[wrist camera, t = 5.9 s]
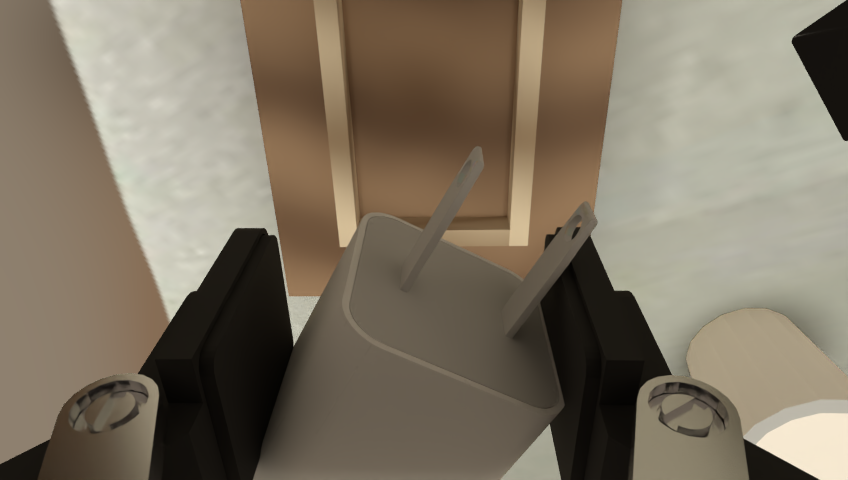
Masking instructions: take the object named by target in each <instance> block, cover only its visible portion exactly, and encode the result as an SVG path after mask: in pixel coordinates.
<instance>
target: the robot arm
mask: <svg viewBox="0 0 848 480" xmlns="http://www.w3.org/2000/svg"><path fill="white" fill-rule="evenodd" d="M561 229H562V227H557V229H556V231H555V234H547V235H546V238H545V246H544V251H545V250H546V248H547V247H548V245H549V244H550V243H551V241H552V240H553V239H554V237H555V236H556V235H557V234H558V232H559V231H560V230H561ZM579 230H580V227H576V228H575V230H574V232H573V235H572V239H573V238H574V237H575V236H576V235H577V233H578V232H579ZM572 239H571V240H572ZM540 304H541V308H542V313H543V317H544V321H545V325H546V329H547V333H548V337H549V341H550V346H551V350H552V354H553V358H554V362H555V366H556V370H557V375H558V379H559V383H560V387H561V391H562V395H563V399H564V404H565V405H564V408H563V409H562V410H561V412H560V413H559V414H558V415H557V416H556V417H555V418H554V419H553V421H552V422H551V423H550V427H551V432H552V437H553V442H554V446H555V451H556V456H557V461H558V466H559V471H560V476H561V480H820V479H818V478H816V477H814V476H812V475H810V474H808V473H807V472H805V471H803V470H801V469H799V468H797V467H796V466H794V465H792V464H790V463H788V462H786V461H784V460H783V459H781V458H779V457H777V456H775V455H773V454H772V453H770V452H768V451H766V450H764V449H762V448H760V447H759V446H757V445H755V444H753V443H751V442H749V441H748V440H746V439H744V438H743V433H742V426H741V419H740V417H739V414H738V411H737V409H736V407H735V406H734V405H733V403H732V402H731V401H730V400H729V398H728V397H726V396H725V395H724V394H723V393H721V392H720V391H719V390H717V389H716V388H714V387H712V386H710V385H708V384H706V383H704V382H702V381H700V380H696V379H693V378H689V377H685V376H676V375H672V374H671V372H670V370H669V368H668V366H667V364H666V361H665V359H664V357H663V355H662V353H661V351H660V349H659V347H658V345H657V343H656V341H655V339H654V337H653V335H652V332H651V330H650V328H649V326H648V324H647V322H646V320H645V318H644V316H643V314H642V312H641V310H640V308H639V305H638V303H637V301H636V299H635V297H634V296H633V294H632V293H631V292H630V291H614V289H613V287H612V285H611V282H610V280H609V278H608V275H607V273H606V271H605V269H604V266H603V264H602V262H601V260H600V257H599V255H598V253H597V250H596V248H595V246H594V244H593V241H592V239H591V237H590V235H589V236H588V238H587V239H586V241H585V242H584V243H583V245H582V246H581V248H580V249H579V250H578V252H577V253H576V255H575V256H574V258H573V259H572V260H571V262H570V263H569V265H568V266H567V267H566V269H565V270H564V271H563V273H562V274H561V275H560V277H559V278H558V279H557V280H556V282H555V283H554V284H553V286H552V287H551V288H550V290H549V291H548V292H547V294H546V295H545V296H544V297H543V299H542V300H541V301H540ZM292 350H293V336H292V329H291V323H290V317H289V310H288V304H287V298H286V291H285V285H284V279H283V272H282V266H281V260H280V253H279V247H278V241H277V238H276V236H275V235H268V233H267V231H266V229H265V228H237V229H235V230H234V232H233V233H232V235H231V237H230V238H229V240H228V241H227V243H226V245H225V246H224V248H223V250H222V251H221V253H220V254H219V256H218V258H217V259H216V261H215V262H214V264H213V266H212V267H211V269H210V271H209V272H208V274H207V275H206V277H205V279H204V280H203V282H202V283H201V285H200V287H199V288H198V290H197V291H194V292H191V293H190V294H189V295H188V296H187V297H186V299H185V300H184V302H183V303H182V305H181V306H180V308H179V310H178V311H177V313H176V314H175V316H174V317H173V319H172V321H171V322H170V324H169V325H168V327H167V329H166V330H165V332H164V333H163V335H162V337H161V338H160V339H159V341H158V343H157V344H156V346H155V347H154V349H153V351H152V352H151V354H150V355H149V357H148V358H147V360H146V362H145V363H144V365H143V366H142V368H141V370H140V371H139V373H138V374H132V373H128V374H118V375H113V376H110V377H106V378H102V379H100V380H98V381H95V382H93V383H91V384H89V385H87V386H85V387H84V388H82V389H81V390H80V391H78V392H77V393H75V394H74V395H73V396H72V397H71V398H70V399H69V400H68V401H67V402H66V403H65V404H64V405H63V407H62V409H61V411H60V413H59V414H58V417H57V420H56V423H55V426H54V429H53V432H52V435H51V438H50V440H48V441H46V442H44V443H42V444H40V445H38V446H36V447H34V448H32V449H30V450H28V451H26V452H24V453H22V454H20V455H18V456H16V457H14V458H12V459H10V460H8V461H6V462H4V463H2V464H0V480H253V478H254V475H255V472H256V468H257V465H258V462H259V459H260V453H261V447H262V443H263V439H264V436H265V433H266V430H267V427H268V424H269V421H270V418H271V415H272V412H273V409H274V406H275V402H276V399H277V396H278V393H279V390H280V387H281V384H282V381H283V378H284V375H285V372H286V369H287V365H288V362H289V359H290V356H291V353H292Z"/></svg>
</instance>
